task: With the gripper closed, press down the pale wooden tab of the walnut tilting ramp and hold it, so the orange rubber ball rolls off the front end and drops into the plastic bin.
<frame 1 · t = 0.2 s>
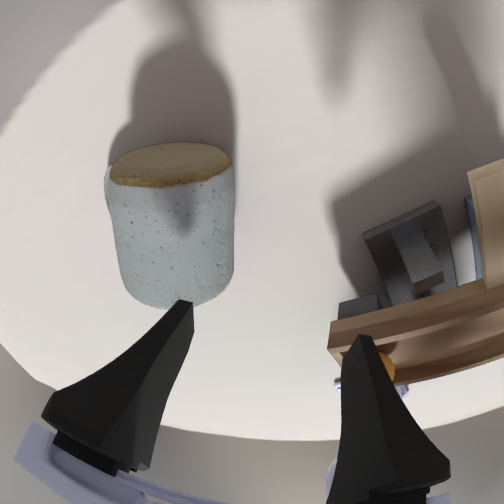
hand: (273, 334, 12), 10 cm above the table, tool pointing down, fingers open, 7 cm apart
pivot stand: (419, 275, 20), on the table
tilt ramp: (432, 293, 14), point 5 cm above the table, hinge at -8.0°, touching orange ball
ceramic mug: (177, 194, 20), on the table
orange ball: (373, 373, 16), point 7 cm above the table, tilted 13°, touching tilt ramp
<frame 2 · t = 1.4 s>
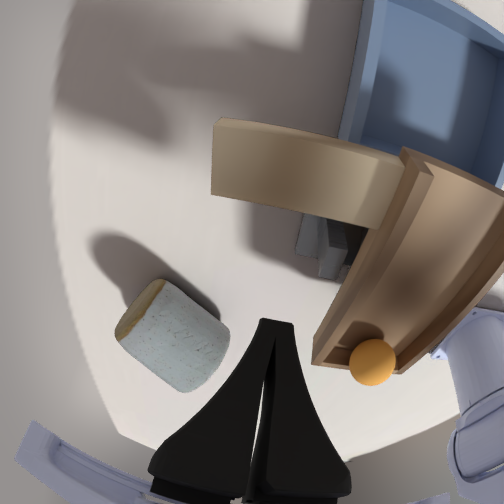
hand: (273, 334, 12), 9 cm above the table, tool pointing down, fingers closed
pivot stand: (386, 230, 18), on the table
tilt ramp: (349, 267, 14), point 5 cm above the table, hinge at -8.0°, touching orange ball
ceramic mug: (179, 310, 27), on the table
orange ball: (372, 362, 15), point 7 cm above the table, tilted 13°, touching tilt ramp
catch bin: (431, 86, 12), on the table
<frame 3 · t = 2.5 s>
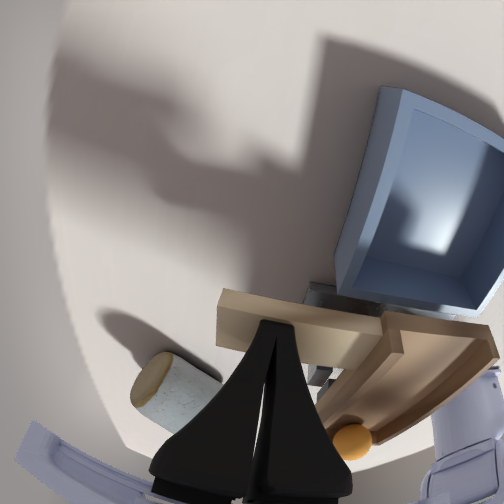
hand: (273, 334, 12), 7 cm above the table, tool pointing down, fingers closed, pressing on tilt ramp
pivot stand: (374, 325, 20), on the table
tilt ramp: (333, 380, 16), point 5 cm above the table, hinge at -2.4°, touching gripper, orange ball
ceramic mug: (185, 371, 29), on the table
orange ball: (352, 442, 16), point 8 cm above the table, tilted 7°, touching tilt ramp
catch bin: (436, 201, 13), on the table
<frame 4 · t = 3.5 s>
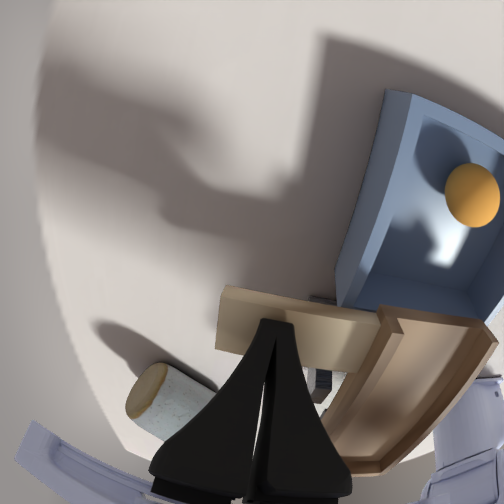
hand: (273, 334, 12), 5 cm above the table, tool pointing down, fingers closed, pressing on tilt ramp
pivot stand: (376, 338, 19), on the table
tilt ramp: (332, 399, 15), point 5 cm above the table, hinge at 13.2°, touching gripper
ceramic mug: (181, 381, 28), on the table
orange ball: (472, 195, 10), point 2 cm above the table, tilted 14°, touching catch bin
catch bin: (443, 212, 13), on the table
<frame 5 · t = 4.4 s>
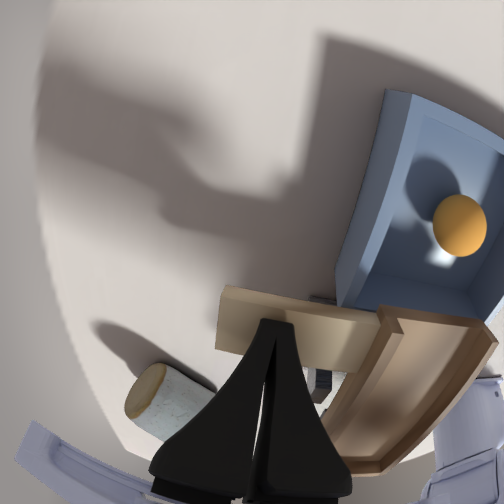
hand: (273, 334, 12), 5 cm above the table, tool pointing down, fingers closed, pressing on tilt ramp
pivot stand: (376, 338, 19), on the table
tilt ramp: (332, 399, 15), point 5 cm above the table, hinge at 13.2°, touching gripper
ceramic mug: (180, 381, 28), on the table
orange ball: (459, 225, 11), point 2 cm above the table, tilted 51°, touching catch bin
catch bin: (443, 212, 13), on the table
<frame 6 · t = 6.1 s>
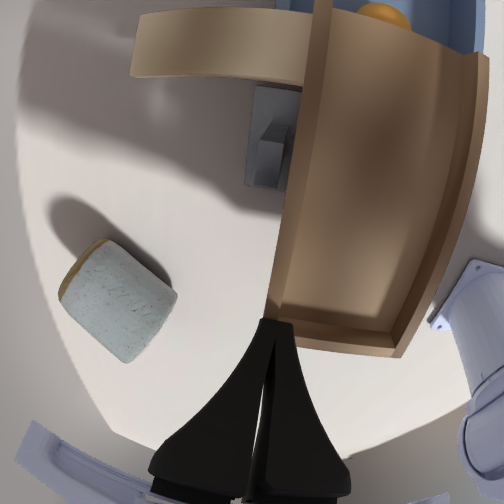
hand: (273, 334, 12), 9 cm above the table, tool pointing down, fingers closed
pivot stand: (352, 152, 15), on the table
tilt ramp: (289, 169, 11), point 5 cm above the table, hinge at 10.2°
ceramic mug: (132, 278, 25), on the table
orange ball: (382, 28, 9), point 2 cm above the table, tilted 173°, touching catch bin
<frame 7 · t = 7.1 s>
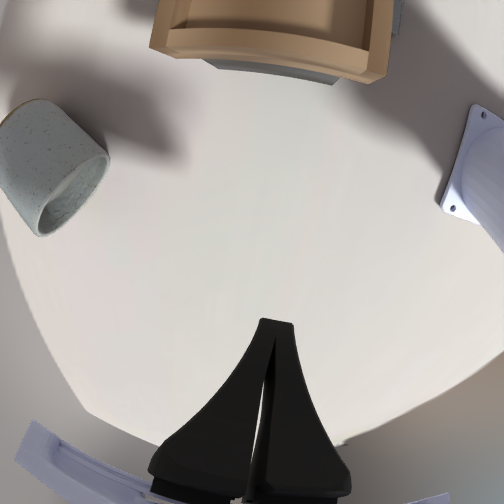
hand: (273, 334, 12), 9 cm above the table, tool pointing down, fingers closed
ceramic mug: (72, 159, 19), on the table
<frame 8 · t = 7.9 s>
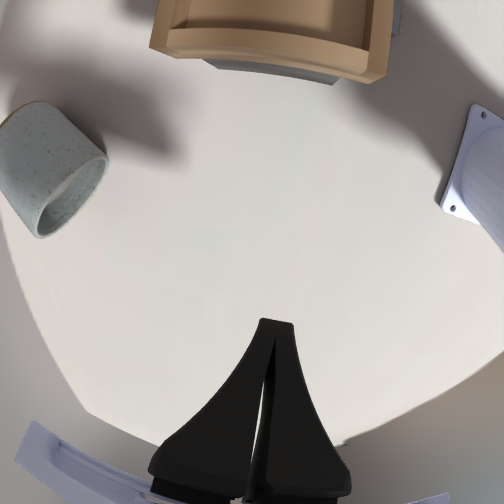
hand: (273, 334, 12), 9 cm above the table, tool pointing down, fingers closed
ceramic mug: (71, 161, 19), on the table
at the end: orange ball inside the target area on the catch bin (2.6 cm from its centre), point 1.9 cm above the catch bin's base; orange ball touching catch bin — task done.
